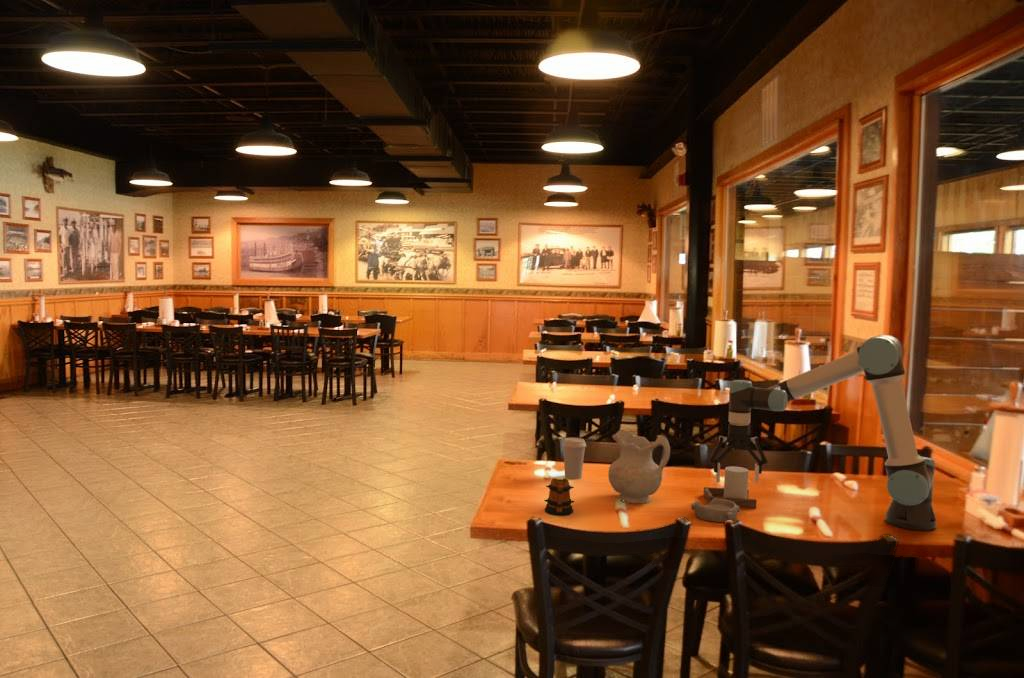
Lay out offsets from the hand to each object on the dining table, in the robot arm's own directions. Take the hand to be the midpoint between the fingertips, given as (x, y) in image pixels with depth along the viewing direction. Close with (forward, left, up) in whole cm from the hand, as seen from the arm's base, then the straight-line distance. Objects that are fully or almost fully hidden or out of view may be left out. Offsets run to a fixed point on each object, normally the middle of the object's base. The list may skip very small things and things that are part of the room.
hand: (737, 481), depth 280 cm
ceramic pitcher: (-3, +35, -8) cm, 36 cm away
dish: (-19, +10, -8) cm, 23 cm away
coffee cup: (+23, +58, -8) cm, 63 cm away
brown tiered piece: (-23, +63, -8) cm, 68 cm away
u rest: (0, +2, -7) cm, 8 cm away
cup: (0, 0, -8) cm, 8 cm away
